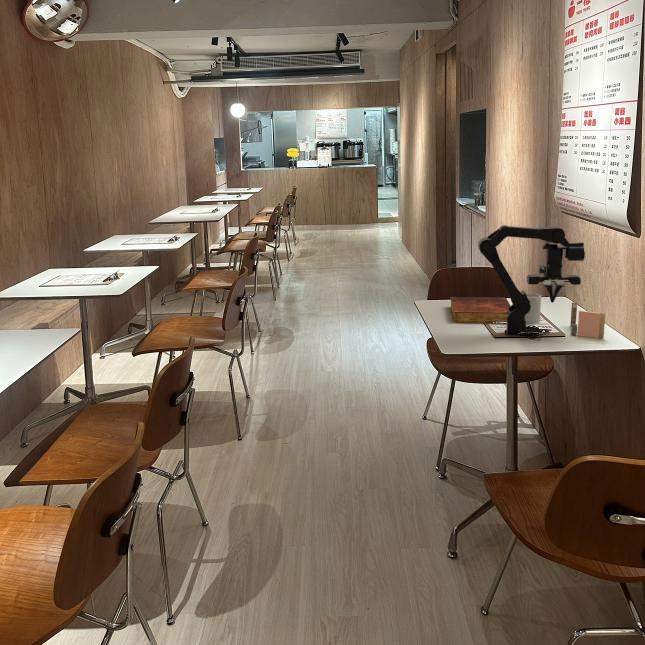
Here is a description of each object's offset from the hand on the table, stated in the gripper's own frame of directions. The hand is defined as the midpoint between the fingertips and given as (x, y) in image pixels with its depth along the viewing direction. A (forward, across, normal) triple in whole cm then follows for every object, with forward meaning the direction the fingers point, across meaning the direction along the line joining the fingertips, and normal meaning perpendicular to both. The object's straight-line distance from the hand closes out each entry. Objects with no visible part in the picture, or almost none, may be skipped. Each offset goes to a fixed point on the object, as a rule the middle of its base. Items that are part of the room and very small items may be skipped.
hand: (552, 302), depth 301 cm
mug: (+12, +5, -20) cm, 24 cm away
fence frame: (+12, -9, -4) cm, 15 cm away
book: (+13, +23, -30) cm, 40 cm away
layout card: (+12, -12, +2) cm, 17 cm away
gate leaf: (+11, -13, +6) cm, 19 cm away
